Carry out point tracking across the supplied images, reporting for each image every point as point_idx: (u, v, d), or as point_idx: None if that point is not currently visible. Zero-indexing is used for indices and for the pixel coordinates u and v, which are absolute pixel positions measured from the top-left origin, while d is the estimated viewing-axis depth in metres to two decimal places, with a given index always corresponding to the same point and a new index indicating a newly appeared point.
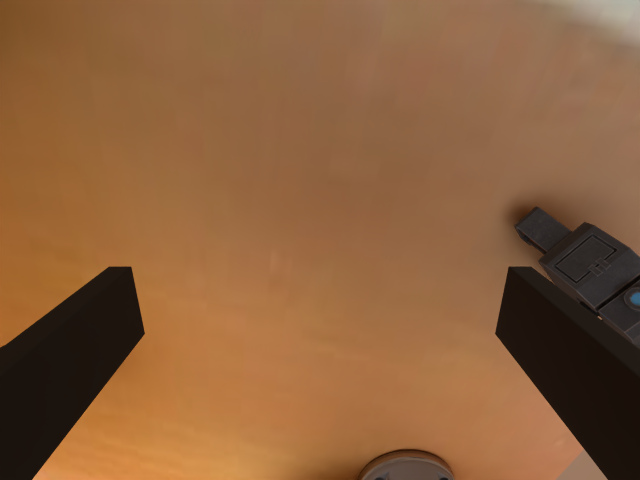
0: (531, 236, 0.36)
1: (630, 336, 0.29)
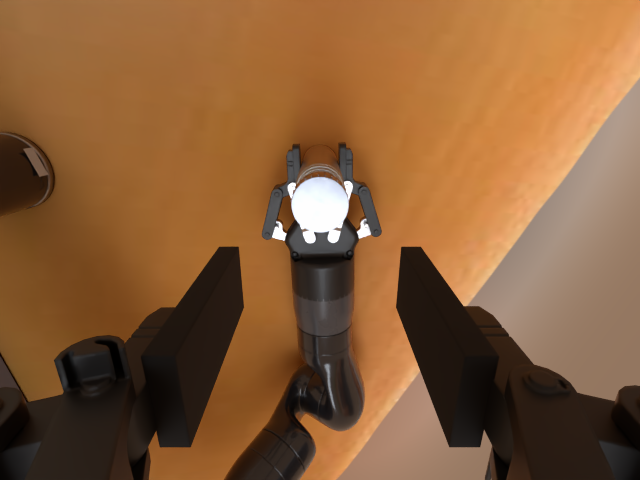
0: None
1: None
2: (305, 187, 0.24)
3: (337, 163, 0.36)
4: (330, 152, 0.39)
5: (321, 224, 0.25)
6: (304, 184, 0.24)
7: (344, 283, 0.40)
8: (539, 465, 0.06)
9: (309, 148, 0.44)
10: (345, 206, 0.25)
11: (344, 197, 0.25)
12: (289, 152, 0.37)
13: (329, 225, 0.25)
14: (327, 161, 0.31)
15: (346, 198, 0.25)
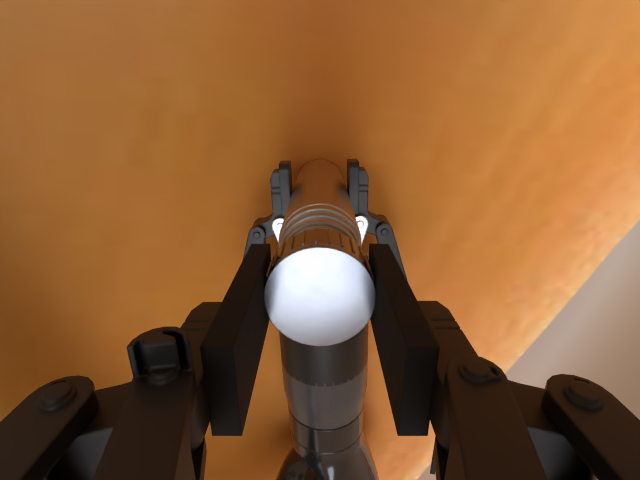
0: None
1: None
2: (290, 266, 0.12)
3: (346, 192, 0.24)
4: (335, 172, 0.27)
5: (322, 332, 0.13)
6: (288, 261, 0.12)
7: (355, 359, 0.28)
8: (472, 453, 0.06)
9: (305, 164, 0.32)
10: (369, 301, 0.13)
11: (367, 285, 0.13)
12: (274, 174, 0.25)
13: (338, 334, 0.13)
14: (332, 196, 0.19)
15: (371, 287, 0.13)
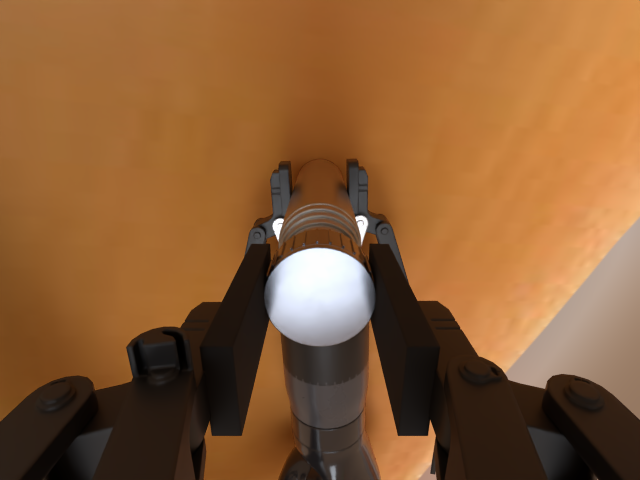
0: None
1: None
2: (286, 325, 0.13)
3: (346, 192, 0.24)
4: (334, 172, 0.27)
5: (358, 295, 0.13)
6: (281, 326, 0.13)
7: (356, 359, 0.28)
8: (472, 453, 0.06)
9: (305, 164, 0.32)
10: (319, 254, 0.12)
11: (300, 256, 0.12)
12: (274, 174, 0.25)
13: (360, 281, 0.12)
14: (331, 196, 0.19)
15: (302, 253, 0.12)
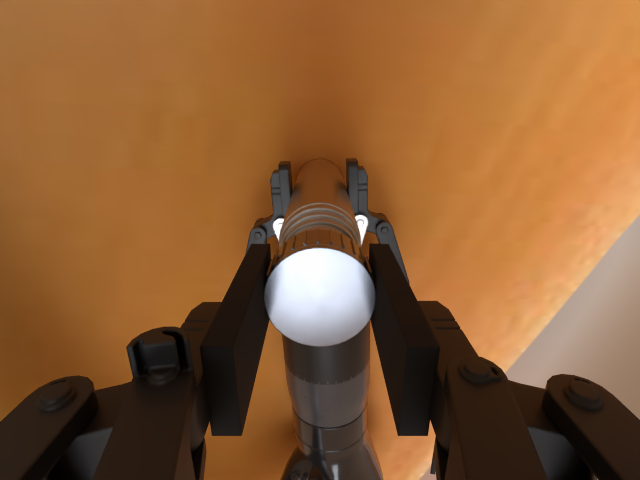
0: None
1: None
2: (350, 328, 0.13)
3: (345, 191, 0.24)
4: (334, 172, 0.27)
5: (313, 264, 0.12)
6: (352, 332, 0.13)
7: (357, 357, 0.28)
8: (472, 453, 0.06)
9: (305, 164, 0.32)
10: (270, 302, 0.13)
11: (275, 317, 0.13)
12: (274, 175, 0.25)
13: (296, 264, 0.12)
14: (331, 195, 0.19)
15: (270, 316, 0.13)
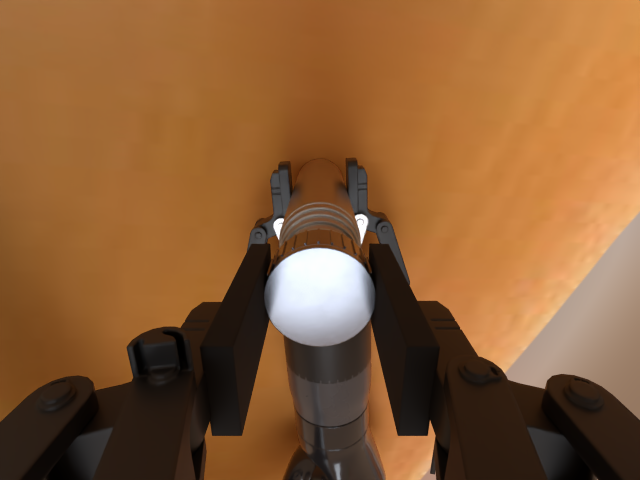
0: None
1: None
2: (353, 269, 0.12)
3: (345, 191, 0.24)
4: (334, 171, 0.28)
5: (282, 306, 0.13)
6: (358, 267, 0.12)
7: (358, 356, 0.28)
8: (472, 453, 0.06)
9: (305, 164, 0.32)
10: (324, 341, 0.13)
11: (341, 337, 0.13)
12: (274, 175, 0.25)
13: (282, 320, 0.13)
14: (331, 195, 0.19)
15: (339, 341, 0.13)
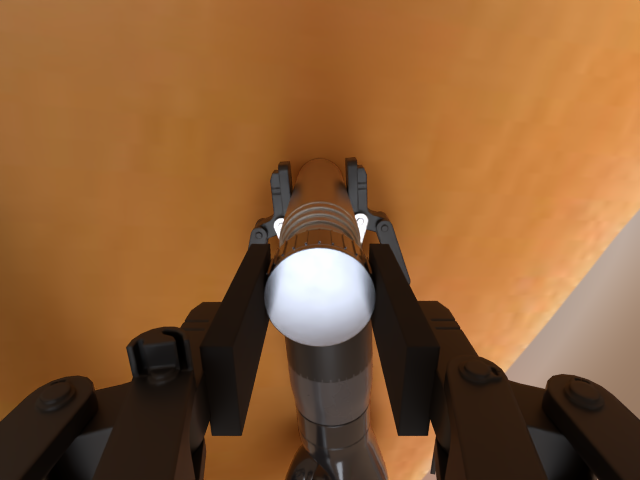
0: None
1: None
2: (284, 272, 0.12)
3: (345, 190, 0.24)
4: (334, 171, 0.28)
5: (329, 331, 0.13)
6: (281, 267, 0.12)
7: (359, 355, 0.28)
8: (472, 453, 0.06)
9: None
10: (369, 293, 0.13)
11: (364, 278, 0.12)
12: (274, 175, 0.26)
13: (344, 331, 0.13)
14: (330, 194, 0.19)
15: (368, 279, 0.12)
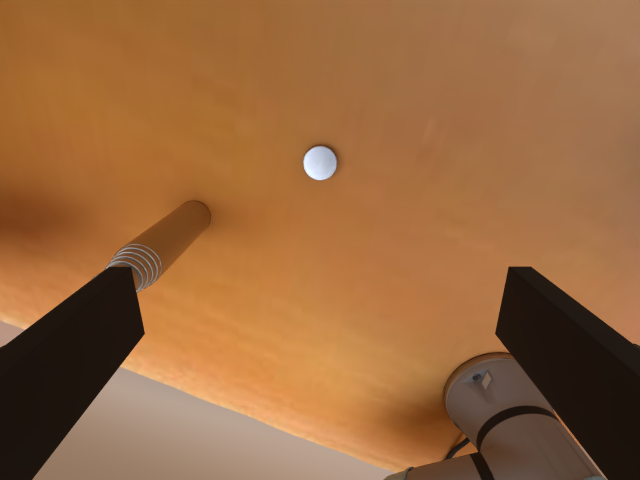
0: None
1: None
2: (309, 154, 0.43)
3: None
4: (196, 237, 0.43)
5: (323, 174, 0.43)
6: (309, 152, 0.43)
7: None
8: None
9: (206, 207, 0.47)
10: (334, 161, 0.43)
11: (333, 156, 0.43)
12: None
13: (327, 174, 0.43)
14: (169, 263, 0.35)
15: (334, 156, 0.43)
